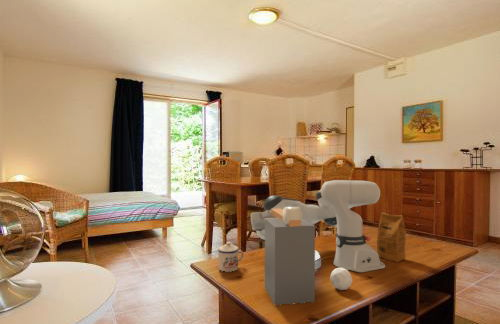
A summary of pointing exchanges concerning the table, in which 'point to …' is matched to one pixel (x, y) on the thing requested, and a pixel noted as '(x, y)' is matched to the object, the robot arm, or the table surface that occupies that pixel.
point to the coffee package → (391, 237)
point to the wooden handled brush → (289, 215)
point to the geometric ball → (341, 278)
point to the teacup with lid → (229, 257)
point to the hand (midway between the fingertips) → (278, 211)
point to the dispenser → (289, 262)
